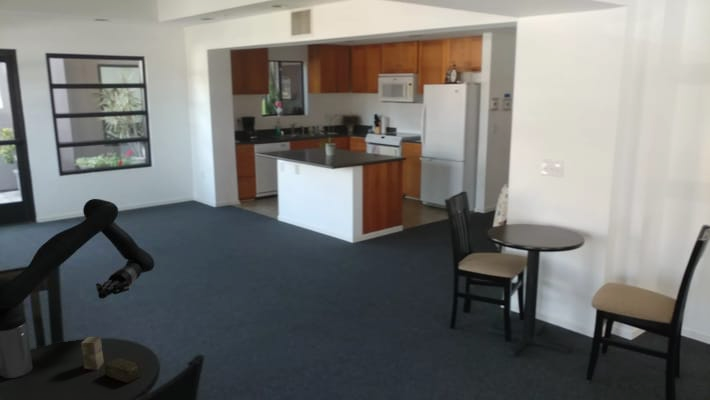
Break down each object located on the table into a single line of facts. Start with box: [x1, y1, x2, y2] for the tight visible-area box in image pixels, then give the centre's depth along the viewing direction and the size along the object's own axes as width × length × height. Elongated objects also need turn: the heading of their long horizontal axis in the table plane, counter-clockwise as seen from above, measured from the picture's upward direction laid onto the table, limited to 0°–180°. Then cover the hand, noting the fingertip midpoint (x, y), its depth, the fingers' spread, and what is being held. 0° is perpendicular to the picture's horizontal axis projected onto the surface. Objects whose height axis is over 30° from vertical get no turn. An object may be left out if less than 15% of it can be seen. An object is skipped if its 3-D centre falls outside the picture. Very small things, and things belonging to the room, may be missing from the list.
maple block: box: [80, 336, 105, 371], centre depth 192 cm, size 4×4×10 cm
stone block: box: [104, 357, 141, 383], centre depth 186 cm, size 6×12×5 cm, turn 63°
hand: (101, 295), depth 198 cm, fingers closed
